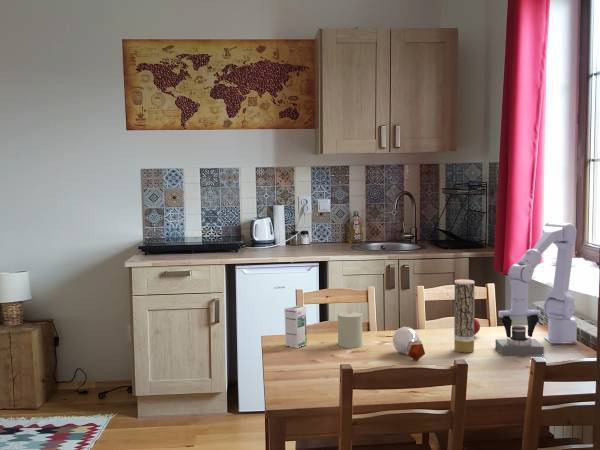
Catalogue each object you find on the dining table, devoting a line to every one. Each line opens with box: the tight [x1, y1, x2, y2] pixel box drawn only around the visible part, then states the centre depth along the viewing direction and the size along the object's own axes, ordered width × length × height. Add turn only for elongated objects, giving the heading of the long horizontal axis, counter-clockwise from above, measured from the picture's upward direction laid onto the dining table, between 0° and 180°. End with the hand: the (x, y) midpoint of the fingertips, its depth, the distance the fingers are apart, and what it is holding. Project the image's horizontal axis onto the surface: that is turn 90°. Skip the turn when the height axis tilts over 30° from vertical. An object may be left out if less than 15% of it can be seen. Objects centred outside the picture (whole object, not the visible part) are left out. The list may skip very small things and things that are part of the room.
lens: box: [511, 325, 527, 341], centre depth 244 cm, size 5×5×6 cm
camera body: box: [495, 335, 545, 356], centre depth 244 cm, size 14×10×4 cm
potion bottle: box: [392, 326, 426, 362], centre depth 241 cm, size 9×10×15 cm
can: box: [337, 311, 363, 349], centre depth 256 cm, size 9×9×12 cm
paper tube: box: [453, 278, 476, 354], centre depth 245 cm, size 7×7×25 cm
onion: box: [474, 317, 481, 336], centre depth 265 cm, size 6×6×8 cm
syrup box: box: [284, 305, 308, 349], centre depth 256 cm, size 6×6×14 cm
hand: (519, 336), depth 244 cm, fingers open, 7 cm apart
